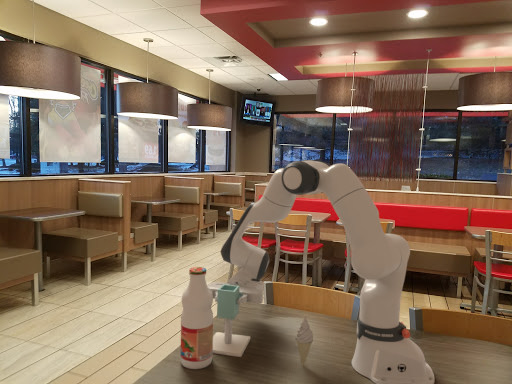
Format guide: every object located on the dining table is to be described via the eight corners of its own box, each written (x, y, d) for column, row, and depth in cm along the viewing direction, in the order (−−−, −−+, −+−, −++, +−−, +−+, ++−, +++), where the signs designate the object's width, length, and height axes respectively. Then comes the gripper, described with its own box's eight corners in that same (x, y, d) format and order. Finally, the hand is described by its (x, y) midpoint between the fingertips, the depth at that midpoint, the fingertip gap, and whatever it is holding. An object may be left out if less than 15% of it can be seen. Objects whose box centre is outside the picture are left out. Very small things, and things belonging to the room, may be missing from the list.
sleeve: (238, 312, 124) (239, 286, 123) (233, 319, 118) (234, 291, 117) (222, 310, 125) (223, 284, 124) (216, 317, 119) (217, 289, 119)
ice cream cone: (311, 371, 108) (313, 320, 106) (293, 369, 109) (295, 318, 107) (312, 362, 113) (314, 313, 111) (295, 360, 114) (297, 312, 112)
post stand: (250, 339, 126) (251, 295, 125) (240, 356, 115) (242, 308, 114) (216, 334, 129) (217, 291, 128) (203, 351, 117) (204, 304, 116)
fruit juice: (213, 369, 108) (214, 273, 106) (179, 371, 106) (180, 274, 104) (211, 352, 117) (213, 264, 115) (181, 354, 116) (181, 264, 113)
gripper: (211, 275, 136) (197, 287, 122) (267, 281, 131) (258, 294, 118) (211, 292, 136) (196, 306, 123) (266, 299, 132) (258, 314, 118)
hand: (227, 301), depth 120 cm, fingers closed on sleeve, 6 cm apart
